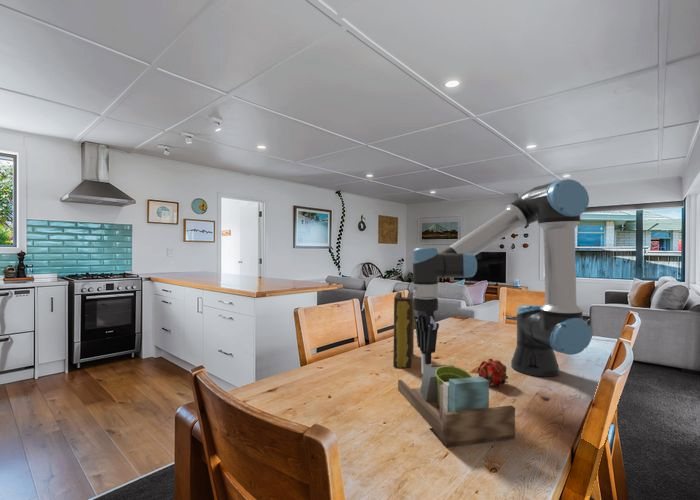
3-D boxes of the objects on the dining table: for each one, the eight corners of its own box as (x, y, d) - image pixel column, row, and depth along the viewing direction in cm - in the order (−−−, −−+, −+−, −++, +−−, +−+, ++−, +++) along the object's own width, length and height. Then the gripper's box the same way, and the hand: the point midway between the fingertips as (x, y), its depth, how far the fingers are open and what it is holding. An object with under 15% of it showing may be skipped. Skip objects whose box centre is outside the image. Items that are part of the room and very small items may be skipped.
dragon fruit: (499, 384, 116) (490, 401, 106) (477, 365, 119) (466, 381, 110) (515, 367, 112) (507, 384, 103) (492, 348, 116) (482, 363, 106)
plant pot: (460, 394, 97) (464, 366, 95) (474, 417, 88) (479, 387, 86) (427, 393, 97) (431, 365, 95) (437, 417, 87) (441, 386, 85)
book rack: (450, 388, 108) (450, 346, 107) (514, 438, 79) (515, 381, 79) (398, 393, 104) (398, 349, 104) (445, 447, 75) (446, 387, 75)
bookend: (449, 388, 102) (453, 365, 99) (455, 398, 98) (460, 374, 95) (420, 391, 100) (424, 367, 97) (425, 401, 96) (430, 377, 93)
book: (414, 369, 124) (414, 299, 124) (389, 367, 126) (390, 298, 126) (415, 352, 146) (415, 291, 146) (394, 350, 148) (395, 291, 148)
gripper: (406, 295, 114) (407, 367, 115) (423, 300, 102) (424, 382, 102) (427, 294, 116) (428, 365, 116) (446, 299, 103) (447, 379, 104)
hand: (426, 373), depth 109 cm, fingers closed
